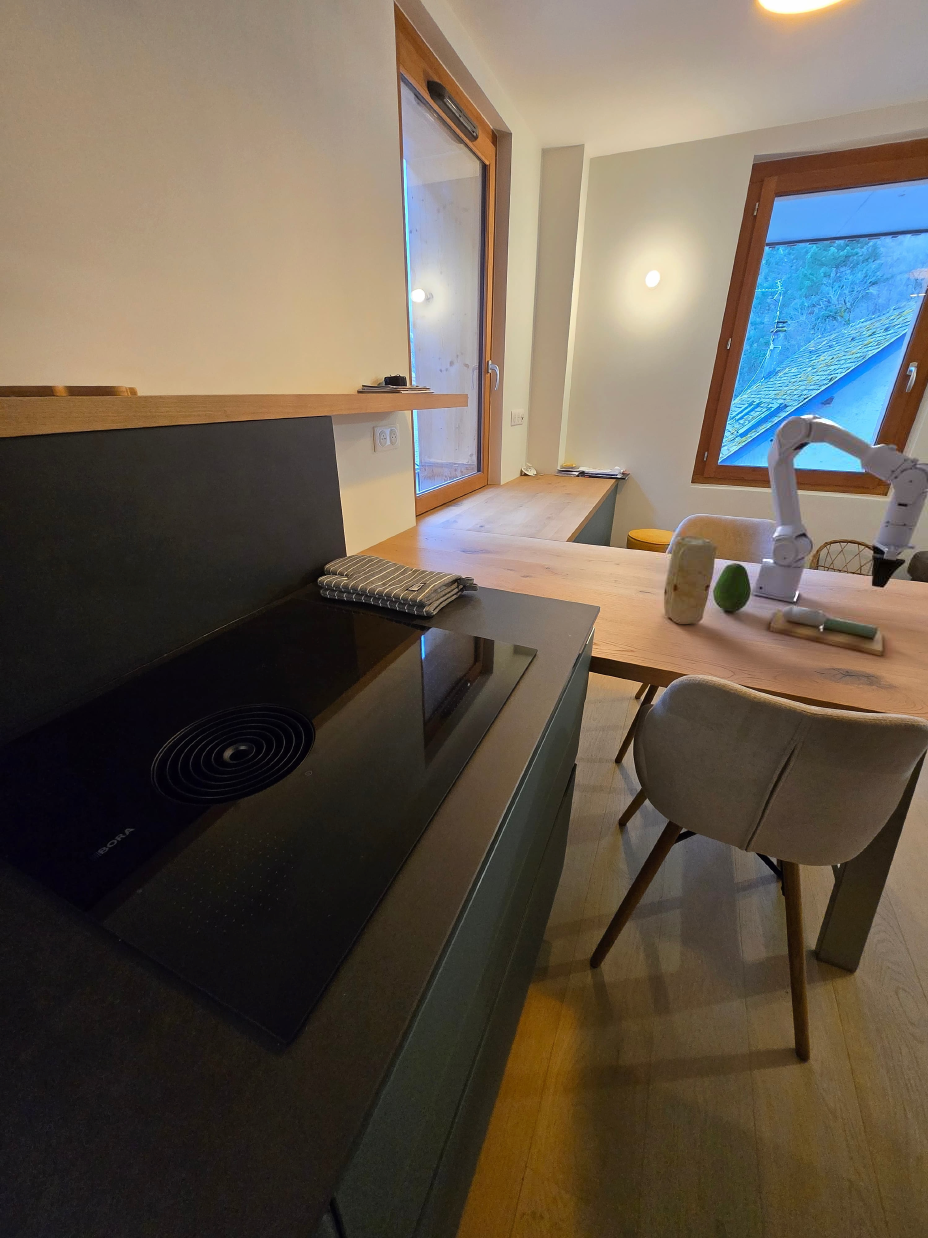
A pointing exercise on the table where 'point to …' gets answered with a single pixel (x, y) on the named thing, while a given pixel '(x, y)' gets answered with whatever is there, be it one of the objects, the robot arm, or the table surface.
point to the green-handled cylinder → (827, 621)
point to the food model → (689, 579)
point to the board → (827, 635)
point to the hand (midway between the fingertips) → (877, 581)
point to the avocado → (732, 588)
